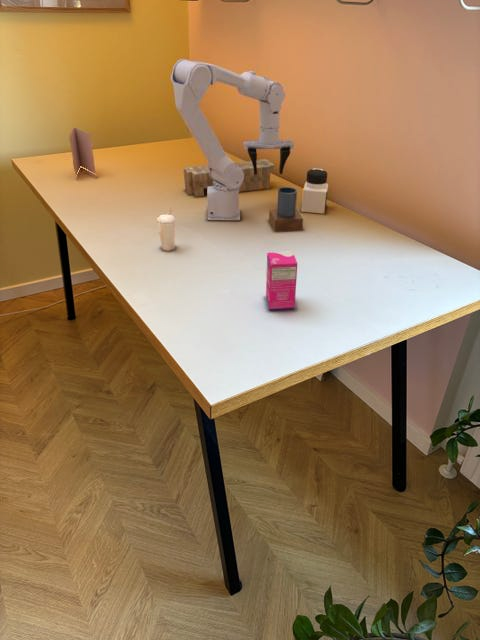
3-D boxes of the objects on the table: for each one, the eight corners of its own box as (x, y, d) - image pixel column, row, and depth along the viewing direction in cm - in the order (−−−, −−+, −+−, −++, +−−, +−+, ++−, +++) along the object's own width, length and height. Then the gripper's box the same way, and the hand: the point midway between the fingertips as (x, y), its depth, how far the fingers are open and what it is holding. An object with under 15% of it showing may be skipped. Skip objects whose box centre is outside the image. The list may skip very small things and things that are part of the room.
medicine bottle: (324, 214, 157) (328, 175, 151) (301, 212, 158) (304, 173, 152) (326, 205, 163) (330, 167, 156) (303, 203, 164) (306, 165, 158)
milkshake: (181, 244, 138) (179, 209, 133) (172, 253, 134) (170, 216, 128) (165, 242, 139) (163, 206, 134) (156, 250, 135) (153, 214, 130)
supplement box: (264, 297, 116) (266, 251, 110) (290, 296, 116) (294, 250, 110) (267, 311, 111) (270, 263, 105) (295, 310, 112) (299, 262, 105)
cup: (277, 217, 145) (278, 193, 142) (276, 210, 150) (277, 186, 146) (296, 217, 146) (298, 193, 142) (294, 210, 150) (296, 187, 146)
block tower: (191, 200, 168) (274, 188, 175) (189, 174, 163) (275, 163, 171) (185, 192, 174) (266, 180, 182) (183, 167, 169) (266, 156, 177)
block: (274, 231, 146) (275, 220, 144) (268, 220, 152) (269, 209, 150) (302, 230, 147) (303, 218, 145) (295, 219, 154) (296, 208, 152)
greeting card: (78, 170, 189) (71, 127, 181) (99, 169, 190) (93, 127, 182) (73, 180, 180) (66, 135, 172) (95, 179, 181) (89, 135, 172)
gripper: (245, 130, 145) (244, 178, 153) (296, 129, 146) (293, 177, 153) (243, 124, 151) (243, 170, 158) (293, 123, 151) (290, 169, 159)
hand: (268, 173), depth 156 cm, fingers open, 7 cm apart
